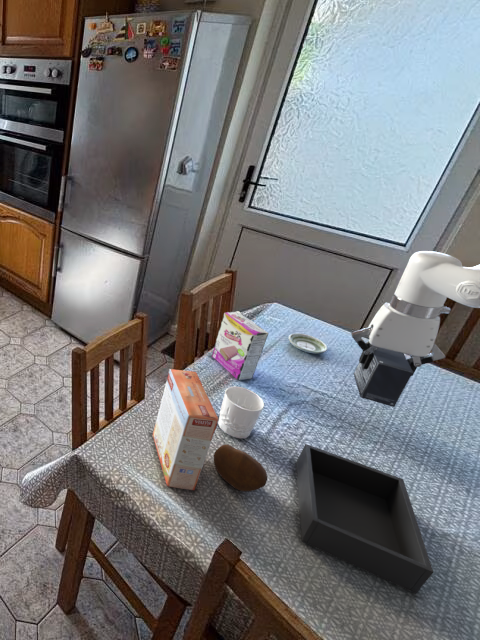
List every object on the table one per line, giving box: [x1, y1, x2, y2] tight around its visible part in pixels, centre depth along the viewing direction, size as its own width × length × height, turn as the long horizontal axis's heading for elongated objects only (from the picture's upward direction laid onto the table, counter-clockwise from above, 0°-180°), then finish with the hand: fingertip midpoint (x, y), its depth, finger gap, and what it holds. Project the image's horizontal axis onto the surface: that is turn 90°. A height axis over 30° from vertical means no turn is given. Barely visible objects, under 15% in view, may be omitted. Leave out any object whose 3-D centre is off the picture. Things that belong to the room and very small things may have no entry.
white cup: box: [217, 385, 265, 439], centre depth 99 cm, size 8×8×10 cm
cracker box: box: [152, 368, 219, 491], centre depth 89 cm, size 14×6×21 cm, turn 170°
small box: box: [353, 348, 414, 408], centre depth 98 cm, size 11×6×10 cm, turn 147°
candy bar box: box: [211, 310, 269, 381], centre depth 118 cm, size 11×5×16 cm, turn 9°
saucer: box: [288, 332, 328, 354], centre depth 128 cm, size 10×10×2 cm
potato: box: [213, 443, 268, 492], centre depth 87 cm, size 7×10×8 cm
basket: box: [295, 443, 434, 595], centre depth 79 cm, size 16×20×7 cm
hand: (383, 370), depth 98 cm, fingers closed on small box, 6 cm apart
